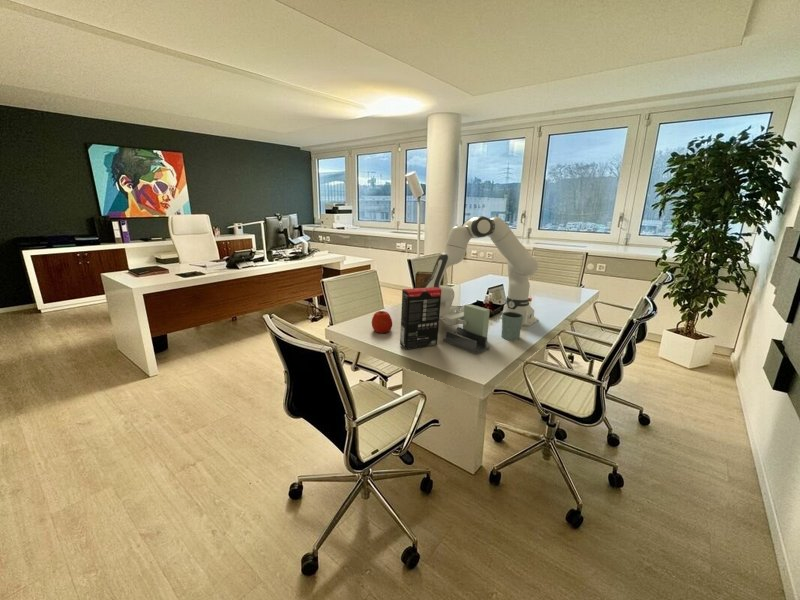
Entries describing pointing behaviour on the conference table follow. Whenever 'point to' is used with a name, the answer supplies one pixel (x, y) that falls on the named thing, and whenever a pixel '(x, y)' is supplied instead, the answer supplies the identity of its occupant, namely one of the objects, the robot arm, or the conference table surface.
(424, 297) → the graphics card box
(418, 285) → the book
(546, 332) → the conference table surface
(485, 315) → the green upright rectangular block
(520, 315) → the green embossed cup
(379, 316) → the apple
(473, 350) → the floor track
